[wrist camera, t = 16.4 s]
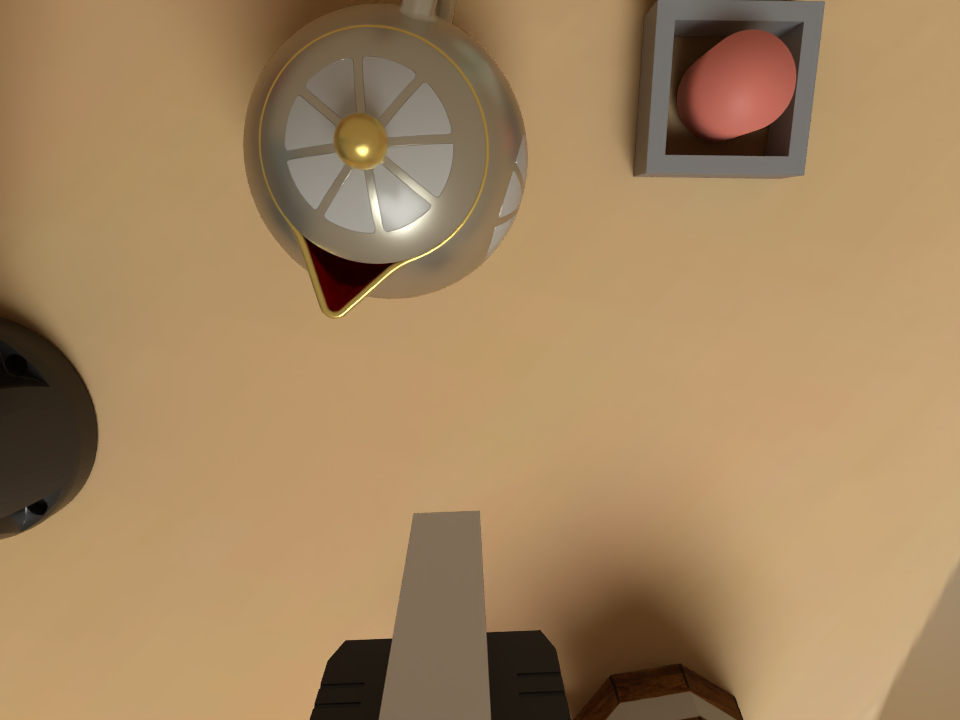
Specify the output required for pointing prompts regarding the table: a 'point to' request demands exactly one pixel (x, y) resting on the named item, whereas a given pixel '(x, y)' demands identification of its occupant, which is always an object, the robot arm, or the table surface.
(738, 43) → the button
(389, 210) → the teapot
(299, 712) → the table surface
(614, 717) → the mug
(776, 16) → the button housing
